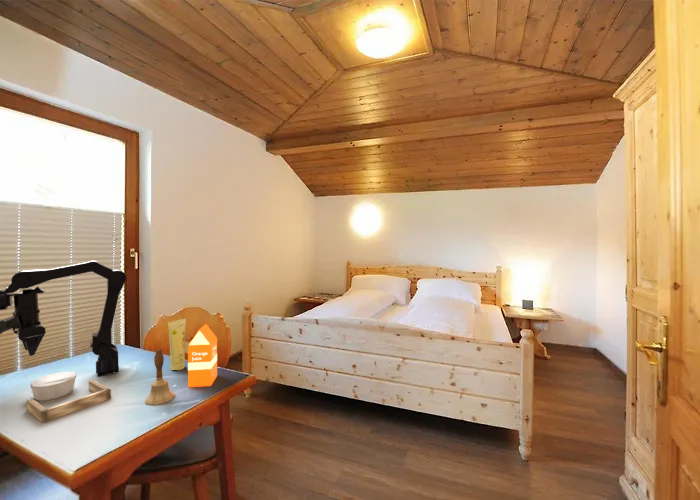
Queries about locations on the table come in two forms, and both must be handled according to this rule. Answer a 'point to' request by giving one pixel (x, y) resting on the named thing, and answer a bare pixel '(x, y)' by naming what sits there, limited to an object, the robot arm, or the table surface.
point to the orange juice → (202, 358)
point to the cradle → (70, 403)
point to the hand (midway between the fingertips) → (29, 352)
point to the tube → (177, 343)
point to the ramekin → (53, 385)
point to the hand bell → (159, 384)
